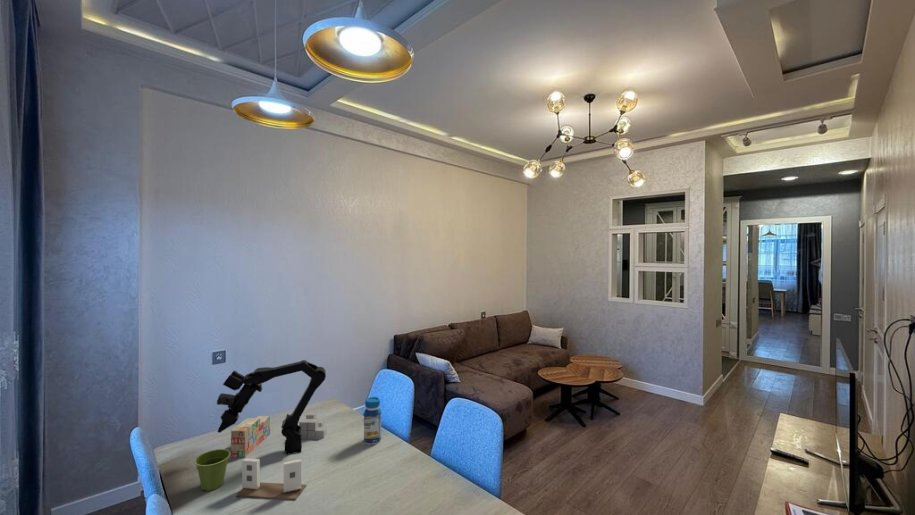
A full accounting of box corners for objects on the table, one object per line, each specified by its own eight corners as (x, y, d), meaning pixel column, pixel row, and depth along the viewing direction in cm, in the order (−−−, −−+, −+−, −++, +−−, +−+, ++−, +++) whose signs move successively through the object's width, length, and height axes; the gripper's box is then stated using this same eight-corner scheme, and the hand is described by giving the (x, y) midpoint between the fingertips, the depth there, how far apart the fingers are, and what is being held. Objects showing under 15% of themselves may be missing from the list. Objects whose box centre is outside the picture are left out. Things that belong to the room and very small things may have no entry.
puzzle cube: (323, 438, 183) (323, 422, 183) (299, 438, 183) (299, 422, 183) (332, 427, 195) (332, 411, 195) (309, 427, 195) (309, 411, 195)
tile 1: (283, 490, 142) (283, 462, 142) (301, 487, 144) (301, 458, 144) (283, 494, 140) (283, 465, 140) (301, 490, 142) (301, 461, 142)
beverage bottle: (385, 439, 182) (385, 398, 182) (372, 447, 175) (372, 404, 175) (372, 434, 187) (372, 394, 186) (359, 442, 179) (359, 400, 179)
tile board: (249, 483, 148) (249, 481, 147) (306, 486, 146) (306, 484, 146) (235, 496, 140) (235, 495, 140) (295, 499, 138) (295, 498, 138)
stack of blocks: (257, 434, 187) (257, 409, 187) (270, 434, 187) (270, 409, 187) (230, 457, 166) (230, 430, 166) (244, 458, 166) (244, 430, 165)
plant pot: (203, 499, 138) (203, 469, 138) (188, 488, 144) (188, 459, 144) (237, 482, 148) (236, 454, 148) (221, 473, 154) (221, 445, 154)
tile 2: (245, 486, 145) (245, 458, 144) (259, 487, 144) (259, 459, 144) (241, 489, 142) (241, 461, 142) (256, 490, 142) (256, 462, 141)
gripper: (232, 379, 172) (209, 410, 169) (221, 394, 154) (196, 428, 151) (254, 391, 175) (233, 421, 172) (247, 407, 157) (222, 440, 154)
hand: (221, 427), depth 162 cm, fingers open, 9 cm apart
